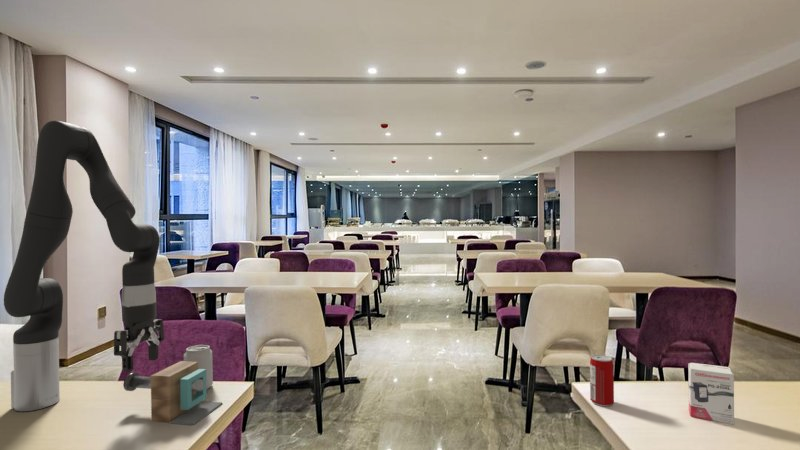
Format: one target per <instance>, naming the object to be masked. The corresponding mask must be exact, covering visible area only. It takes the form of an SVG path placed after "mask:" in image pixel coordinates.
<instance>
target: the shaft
mask: <svg viewBox="0 0 800 450" xmlns="http://www.w3.org/2000/svg"><path fill="white" fill-rule="evenodd" d="M191 384H192V391H199V392H200V391H202V390H203V388H204V380H200V379H198V380H196V381H194V382H193V383H191ZM123 389H124V391H127V392H133V391H136V390H137V389H148V390H149V389H150V390H151V376H142V375H141V376H140V374H139V373H138V372H130V373H128V374H127V375H126V376H125V378H124V380H123Z"/></svg>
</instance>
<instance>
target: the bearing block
mask: <svg viewBox="0 0 800 450" xmlns="http://www.w3.org/2000/svg"><path fill="white" fill-rule="evenodd" d="M196 370H198V362H190V361H184V360H179V361H178V362H177V363H174V364H172V365H170V366H168V367H165V368H163V369H162V370H159V371H157V372H155V373H154V374H151V375H150V377H151V389H150V404H151V405H150V408H151V409H150V410H151V411H150V413H151V415H150V416H151V420H150V421H151V422H156V423H157V422H158V423H171V421H173V420H174V419H176V418H177V417H179V416H180V415H182V414H183V413H185V412H186V411H188V410H181V398H180V379H181V378H183V377H185V376H187V375H189V374H191V373H192V372H194V371H196ZM195 394H196V391H192V396H194V395H195ZM196 405H197V404H196ZM193 407H194V406H193ZM190 409H191V408H190Z"/></svg>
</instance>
